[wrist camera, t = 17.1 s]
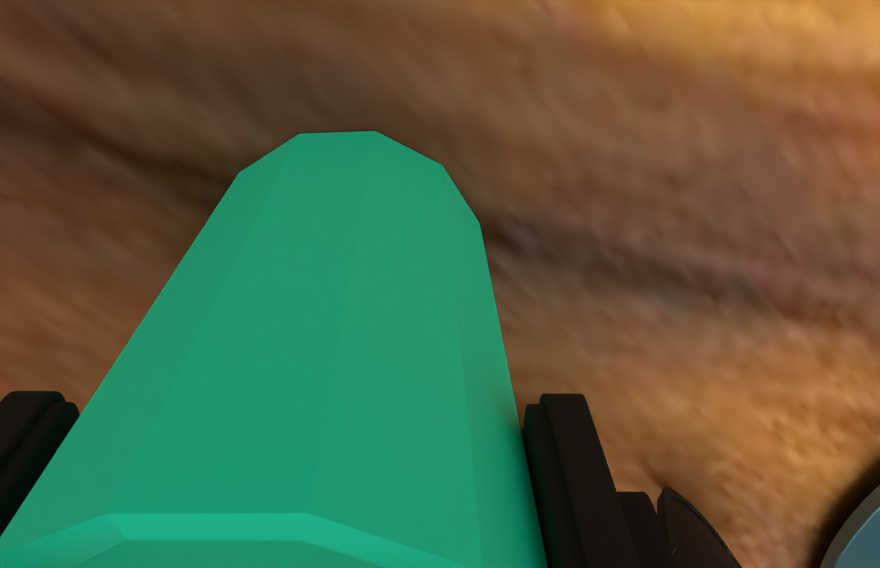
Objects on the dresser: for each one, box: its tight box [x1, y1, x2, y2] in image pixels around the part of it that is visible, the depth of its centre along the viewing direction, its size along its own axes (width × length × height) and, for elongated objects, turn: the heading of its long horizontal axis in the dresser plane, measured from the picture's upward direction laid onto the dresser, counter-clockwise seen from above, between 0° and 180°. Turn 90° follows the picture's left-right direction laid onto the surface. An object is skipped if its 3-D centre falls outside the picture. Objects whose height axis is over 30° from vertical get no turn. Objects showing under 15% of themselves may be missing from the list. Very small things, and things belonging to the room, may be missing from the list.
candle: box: [0, 131, 548, 568], centre depth 11 cm, size 6×6×12 cm
